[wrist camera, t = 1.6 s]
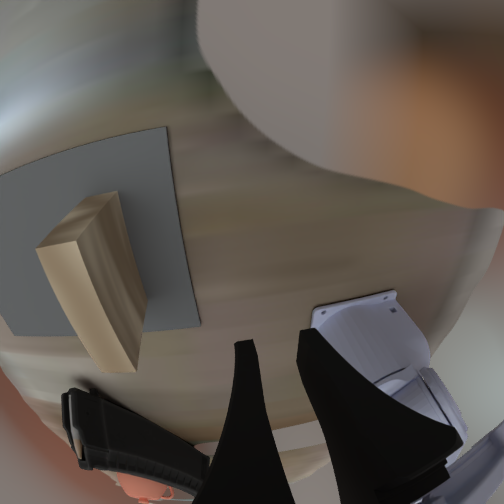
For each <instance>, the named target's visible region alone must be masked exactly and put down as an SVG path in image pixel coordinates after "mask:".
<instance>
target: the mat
mask: <svg viewBox="0 0 504 504" xmlns="http://www.w3.org/2000/svg"><path fill="white" fill-rule="evenodd" d="M114 191H118V196H119V200H120V205H121V209H122V213H123V218H124V222H125V226H126V230H127V233H128V237H129V241H130V245H131V248H132V252H133V255H134V259H135V262H136V265H137V269H138V272H139V275H140V278H141V281H142V284H143V287H144V290H145V293H146V296H147V299H148V302H147V308H146V313H145V319H144V325H143V331H142V332H152V331H163V330H173V329H183V328H191V327H200V326H201V323H200V319H199V314H198V310H197V306H196V301H195V297H194V293H193V288H192V283H191V279H190V274H189V269H188V264H187V259H186V254H185V249H184V243H183V238H182V232H181V227H180V221H179V215H178V209H177V203H176V196H175V190H174V183H173V176H172V169H171V161H170V153H169V145H168V137H167V127H161V128H155V129H150V130H144V131H139V132H135V133H130V134H125V135H121V136H117V137H112V138H108V139H104V140H100V141H97V142H93V143H89V144H86V145H82V146H79V147H76V148H72V149H69V150H66V151H63V152H60V153H57V154H54V155H51V156H48V157H45V158H42V159H40V160H37V161H34V162H32V163H29V164H27V165H24V166H22V167H19V168H17V169H15V170H12V171H10V172H8V173H5V174H3V175H1V176H0V314H1V315H2V317H3V318H4V320H5V322H6V323H7V325H8V326H9V328H10V330H11V331H12V333H13V334H14V336H78V335H77V333H76V332H75V330H74V328H73V327H72V325H71V323H70V321H69V319H68V318H67V316H66V314H65V312H64V310H63V308H62V307H61V305H60V303H59V301H58V299H57V297H56V295H55V293H54V291H53V289H52V286H51V284H50V282H49V280H48V278H47V276H46V273H45V271H44V269H43V266H42V264H41V262H40V259H39V257H38V254H37V252H36V249H35V248H36V247H37V246H38V245H39V244H40V243H41V242H42V241H43V239H44V238H45V237H46V236H47V235H48V234H49V233H50V232H51V231H52V230H53V229H54V228H55V227H56V226H57V225H58V224H59V223H60V222H61V220H62V219H63V218H64V217H65V216H66V215H67V214H69V213H70V212H71V211H72V210H73V209H74V208H75V207H76V206H77V205H78V204H79V203H80V202H81V201H82V200H83V199H84V198H86V197H91V196H95V195H100V194H104V193H109V192H114Z"/></svg>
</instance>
